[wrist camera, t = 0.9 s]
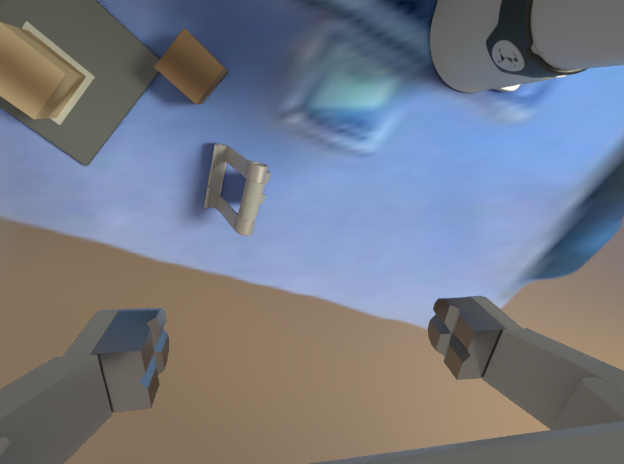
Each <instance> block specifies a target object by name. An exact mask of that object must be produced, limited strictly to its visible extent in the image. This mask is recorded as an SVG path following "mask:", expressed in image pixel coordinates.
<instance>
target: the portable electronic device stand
mask: <svg viewBox="0 0 624 464" xmlns="http://www.w3.org/2000/svg"><path fill="white" fill-rule="evenodd" d="M226 163H228V164H230V165H231V166H232V167H233V168H234V169H236V170H237V171H238V172H239V173H240V174H242V175H243V176H244V177H245V178H246V181H245V186H244V190H243V195H242V200H241V204H240V209H239V213H237V212H235V211H234V209H233V208H232V207H231V206H230V205H229V204H228V203H227V202H226V200H225V199H224V198H223V197H222V196H221V190H222V184H223V179H224V174H225V169H226ZM267 170H268V166H267V165H265V164H263V163H260V162H255V161H251V160H248V159H246V158H245V157H243V156H242V155H241V154H239V153H238V152H236V151H235V150H234V149H232V148H231V147H229V146H227V145H224V144H220V143H215V145H214V151H213V157H212V163H211V169H210V174H209V180H208V186H207V192H206V198H205V203H204V208H206V209H207V208H208V207H211V208H216V209H217V210H219V211H220V213H221V214H222V215H223V216H224V218H225V219H226V220H227V222H228V223H229V224H230V225H231V227H232V228H233V229H234V230H235V232H237V233H238V234H241V235H245V236H249V235H252V232H253V228H254V224H255V220H256V216H257V212H258V207H259V205H261V204H263V202H264V200H265V196H266V194H263V191H264V187H265V184H266V183H267V182H268V181H269V179H270V175H271V172H269V171H268V172H267Z"/></svg>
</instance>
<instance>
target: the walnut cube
mask: <svg viewBox="0 0 624 464" xmlns="http://www.w3.org/2000/svg"><path fill="white" fill-rule="evenodd" d="M154 68H156V69H157V70H158V71H159V72H160V73H161V74H162V75H163V76H164V77H166V78H167V79H168V80H169V81H170V82H171V83H172V84H173V85H175V86H176V87H177V88H178V89H179V90H180V91H181V92H182V93H183V94H185V95H186V96H187V97H188V98H189V99H190V100H191V101H192V102H193V103H195V104H203V103H204V102H205V100H206V99H207V98H208V97H209V95H210V94H211V93H212V92H213V91H214V89H215V88H216V87H217V86H218V84H219V83H220V82H221V81H222V80H223V78H224V77H225V76H226V75H227V73H228V71H227V70H226V69H225V68H224V67H223V66H222V65H221V64H220V63H219V62H218V61H217V60H216V59H215V58H214V57H213V56H212V55H211V54H210V53H209V52H208V51H207V50H206V49H205V48H204V47H203V46H202V45H201V44H200V43H199V42H198V41H197V40H196V39H195V38H194V37H193V36H192V35H191V34H190V33H189V32H188V31H187V30H186V29H185V28H184V29H183V30H182V31H181V33H180V34H179V35H178V36H177V38H176V39H175V40H174V42H173V43H172V44H171V46H170V47H169V48H168V50H167V51H166V52H165V54H164V55H163V56H162V58H161V59H160V60H159V62H158V63H157V64H156V65H155V67H154Z"/></svg>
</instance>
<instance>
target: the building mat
mask: <svg viewBox="0 0 624 464" xmlns="http://www.w3.org/2000/svg"><path fill="white" fill-rule="evenodd" d="M0 22H2V23H6V24H9V25H12V26H15V27H19V28H22V29H25V30H29V31H30V32H32V33H33V34H34V35H35V36H37V37H38V38H39V39H40V40H41V41H43V42H44V43H45V44H46V45H48V46H49V47H50V48H51V49H53V50H54V51H55V52H56V53H58V54H59V55H60V56H61V57H62V58H64V59H65V60H66V61H67V62H69V63H70V64H71V65H72V66H74V67H75V68H76V69H77V70H79V71H80V72H81V73H82V74H84V75H85V76H86V78H85V79H84V81H83V82H82V84H81V85H80V86H79V88H78V89H77V91H76V92H75V93H74V95H73V96H72V98H71V99H70V100H69V102H68V103H67V105H66V106H65V107H64V109H63V110H62V111H61V113H60V114H59V116H58V117H57V118H47V119H35V120H34V119H32V118H31V117H30V116H28V115H27V114H25V113H24V112H22V111H21V110H20V109H18V108H17V107H15V106H14V105H13V104H11V103H10V102H8V101H7V100H5V99H4V98H3V97H1V96H0V107H1V108H3V109H4V110H6V111H7V112H8V113H10V114H11V115H13V116H14V117H16V118H17V119H19V120H20V121H21V122H23V123H24V124H26V125H27V126H29V127H30V128H32V129H33V130H34V131H36V132H37V133H39V134H40V135H42V136H43V137H45V138H46V139H47V140H49V141H50V142H52V143H53V144H55V145H56V146H58V147H59V148H60V149H62V150H63V151H65V152H66V153H68V154H69V155H71V156H72V157H73V158H75V159H76V160H78V161H79V162H81V163H82V164H84V165H85V166H87V165H89V164H90V162H91V161H92V160H93V158H94V157H95V156H96V154H97V153H98V152H99V150H100V149H101V148H102V147H103V145H104V144H105V143H106V141H107V140H108V139H109V137H110V136H111V135H112V134H113V132H114V131H115V130H116V128H117V127H118V126H119V124H120V123H121V122H122V121H123V119H124V118H125V117H126V115H127V114H128V113H129V111H130V110H131V109H132V108H133V106H134V105H135V104H136V102H137V101H138V100H139V98H140V97H141V96H142V95H143V93H144V92H145V91H146V89H147V88H148V87H149V85H150V84H151V83H152V81H153V80H154V79H155V78H156V76H157V75H158V74H159V71H158V70H157V69H156V68H154V67H155V65H156V64H157V63H158V62H159V60H160V59H159V58H158V57H157V56H156V55H155V54H154V53H153V52H152V51H151V50H150V49H148V48H147V47H146V46H145V45H144V44H143V43H142V42H141V41H140V40H139V39H138V38H137V37H135V36H134V35H133V34H132V33H131V32H130V31H129V30H128V29H127V28H126V27H125V26H123V25H122V24H121V23H120V22H119V21H118V20H117V19H116V18H115V17H114V16H113V15H112V14H110V13H109V12H108V11H107V10H106V9H105V8H104V7H103V6H102V5H101V4H100V3H99V2H97V1H96V0H1V2H0Z"/></svg>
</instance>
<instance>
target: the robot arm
mask: <svg viewBox="0 0 624 464" xmlns="http://www.w3.org/2000/svg"><path fill="white" fill-rule="evenodd" d="M430 50H431V56H432V60H433V63H434V66H435V68H436V70H437V72H438V74H439V75H440V77H441V78H442V79H443V81H444V82H445V83H446V84H448V85H449V86H450V87H452V88H454V89H456V90H458V91H461V92H467V93H474V92H480V91H484V90H489V89H494V90H497V91H501V92H510V91H514V90H516V89H517V88H518V87H519V86H520V85H522V84H528V83H533V82H539V81H544V80H549V79H551V78H557V77H563V76H567V75H571V74H576V73H579V72H582V71H584V70H586V69H589V68H597V67H608V66H619V65H624V0H438V1H437V5H436V9H435V12H434V16H433V19H432V24H431V31H430ZM433 310H434V312H435V314H436V315H435V316H434V317H433V318H432V319H431V320H430V322H429V326H428V336H429V339H430V342H431V344H432V346H433V347H434V348H435V350H436V351H437V352H439V353H441V354H443V355H444V363H445V364H446V365H447V367H448V368H449V369H450V371H451V372H452V374H453V375H454V377H455V378H456V379H457V380H460V379H474V378H475V379H476V378H483V380H484V381H485V382H487V383H488V384H490V385H491V386H492V387H493V388H495V389H496V390H498V391H499V392H501V393H502V394H503V395H504V396H506V397H507V398H509V399H510V400H511V401H513V402H514V403H515V404H517V405H518V406H519V407H521V408H522V409H524V410H525V411H526V412H528V413H529V414H531V415H532V416H533V417H534V418H536V419H537V420H539V421H540V422H541V423H543V424H544V425H545V426H547V427H548V428H550V429H551V430H549V431H542V432H535V433H528V434H520V435H513V436H506V437H499V438H492V439H484V440H477V441H470V442H463V443H456V444H449V445H441V446H434V447H427V448H420V449H413V450H405V451H398V452H391V453H383V454H376V455H369V456H362V457H354V458H347V459H339V460H332V461H325V462H318V463H310V464H624V371H623V370H620V369H618V368H616V367H614V366H611V365H609V364H607V363H605V362H602V361H600V360H598V359H596V358H593V357H591V356H589V355H586V354H584V353H582V352H579V351H577V350H575V349H573V348H571V347H568V346H566V345H564V344H562V343H559V342H557V341H555V340H552V339H550V338H548V337H546V336H543V335H541V334H539V333H536V332H534V331H532V330H530V329H527V328H525V329H523V328H522V327H520V326H519V325H518V324H517V323H516V322H515V321H513V320H512V319H511V318H510V317H508V316H507V315H506V314H505V313H504V312H503V311H502V310H500V309H499V308H498V307H497V306H496V305H495V304H493V303H492V302H491V301H490V300H489V299H487V298H486V297H483V296H470V297H462V298H438V300H437V301H436V302H435V305H434V308H433ZM165 323H166V315H165V311H164V310H163V309H162V308H152V309H151V308H150V309H149V308H146V309H105V310H100V311H98V312H96V313H95V315H94V316H93V317H92V319H91V320H90V321H89V322H88V324H87V325H86V326H85V328H84V329H83V331H82V332H81V333H80V334H79V336H78V337H77V338H76V340H75V341H74V343H73V344H72V345H71V346H70V348H69V349H68V350H67V352H66V353H65V354H64V356H63V357H55V358H53V359H51V360H49V361H48V362H46V363H45V364H42V365H41V366H39V367H37V368H36V369H34V370H32V371H30V372H29V373H27V374H25V375H24V376H22V377H20V378H18V379H17V380H15V381H13V382H11V383H10V384H8V385H7V386H5V387H3V388H1V389H0V464H64V463H65V462H66V461H67V460H68V459H69V458H70V457H71V456H72V455H73V454H74V453H75V452H76V451H77V450H78V449H79V448H80V447H81V446H82V445H83V444H84V443H85V442H86V441H87V440H88V439H89V438H90V437H91V436H92V435H93V434H94V433H95V432H96V431H97V430H98V429H99V428H100V427H101V426H102V425H103V424H104V423H105V422H106V421H107V420H108V419H109V418H110V417H111V416H112V413H116V412H124V411H132V410H140V409H148V408H152V405H153V402H154V399H155V396H156V393H157V390H158V387H159V378H158V375H159V374H160V373H161V372H163V370H165V366H166V363H167V359H168V353H169V336H168V333H167V332H165V331H164V330H163V328H164V326H165Z"/></svg>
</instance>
